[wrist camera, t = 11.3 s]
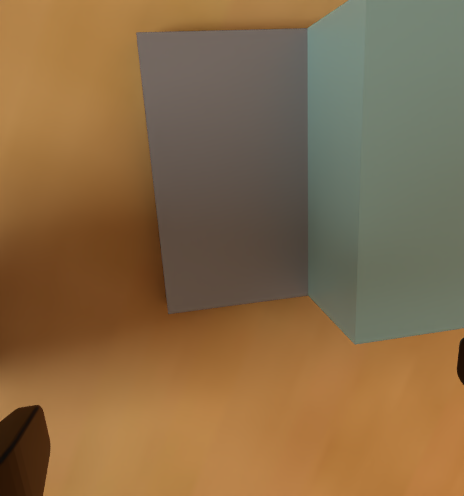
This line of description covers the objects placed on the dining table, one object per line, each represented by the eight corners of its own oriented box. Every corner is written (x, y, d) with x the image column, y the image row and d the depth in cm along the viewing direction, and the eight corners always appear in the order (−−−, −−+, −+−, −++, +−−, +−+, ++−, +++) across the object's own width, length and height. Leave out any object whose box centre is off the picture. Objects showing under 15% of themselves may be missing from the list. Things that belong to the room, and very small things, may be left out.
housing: (308, 295, 20) (354, 344, 16) (307, 28, 17) (366, -13, 12) (417, 281, 21) (492, 323, 17) (437, 25, 18) (539, -13, 13)
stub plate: (167, 303, 20) (171, 345, 16) (137, 39, 17) (132, 11, 13) (516, 258, 24) (590, 284, 20) (549, 28, 20) (646, 2, 16)
